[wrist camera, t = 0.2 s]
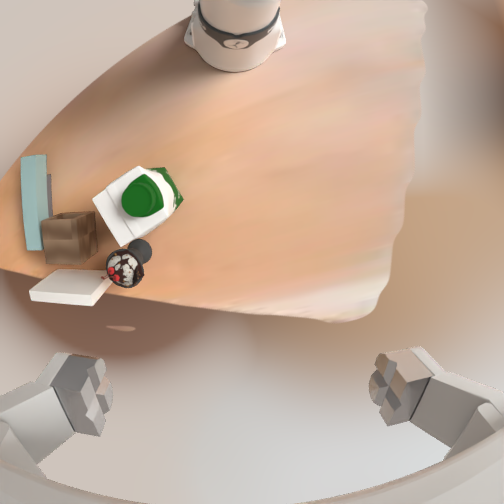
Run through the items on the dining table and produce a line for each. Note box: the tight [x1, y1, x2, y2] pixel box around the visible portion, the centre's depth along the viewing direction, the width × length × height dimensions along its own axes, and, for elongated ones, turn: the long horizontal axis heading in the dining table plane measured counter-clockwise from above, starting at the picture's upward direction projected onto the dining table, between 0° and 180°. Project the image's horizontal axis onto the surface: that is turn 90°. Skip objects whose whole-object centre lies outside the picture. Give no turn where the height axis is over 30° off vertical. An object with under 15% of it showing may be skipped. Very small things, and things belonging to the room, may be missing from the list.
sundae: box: [101, 239, 152, 288], centre depth 47 cm, size 7×7×15 cm
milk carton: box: [92, 166, 184, 247], centre depth 42 cm, size 9×9×20 cm
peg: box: [21, 155, 49, 250], centre depth 45 cm, size 18×4×4 cm, turn 178°
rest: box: [47, 174, 53, 217], centre depth 48 cm, size 10×3×2 cm, turn 178°
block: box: [41, 212, 98, 265], centre depth 48 cm, size 8×8×8 cm
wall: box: [29, 269, 112, 306], centre depth 49 cm, size 2×14×12 cm, turn 88°
